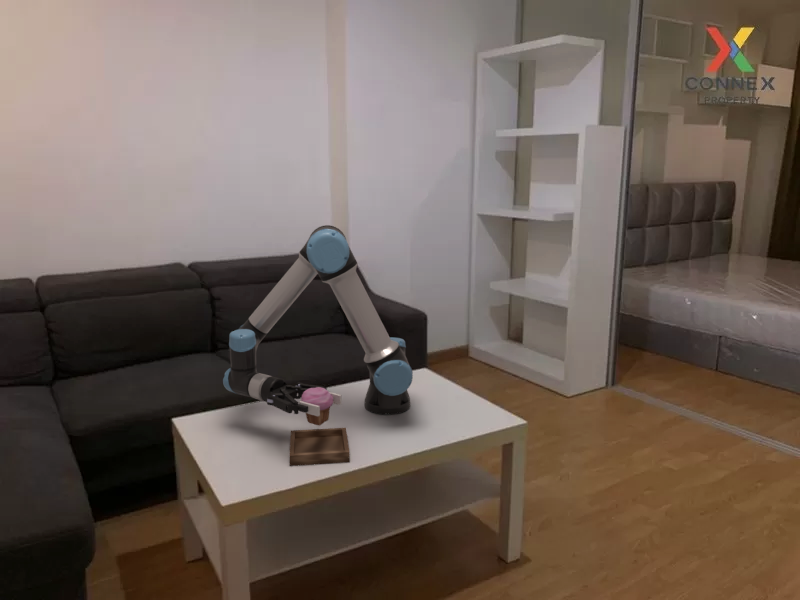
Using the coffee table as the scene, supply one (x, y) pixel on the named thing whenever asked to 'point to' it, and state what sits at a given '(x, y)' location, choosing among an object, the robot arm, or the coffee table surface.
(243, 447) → the coffee table surface
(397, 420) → the coffee table surface
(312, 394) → the cupcake
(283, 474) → the coffee table surface
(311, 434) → the serving tray
